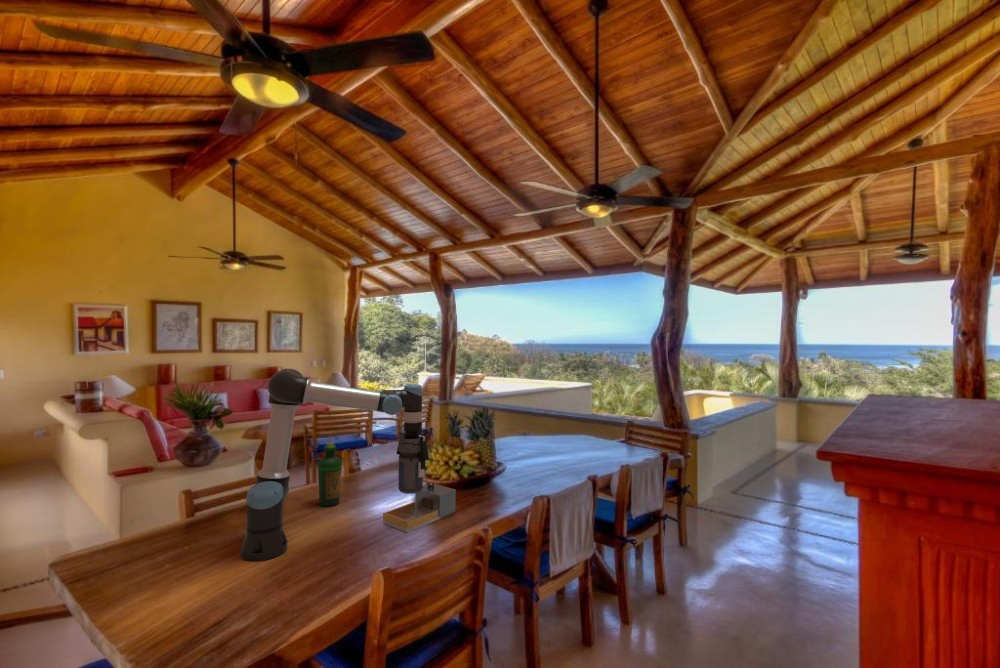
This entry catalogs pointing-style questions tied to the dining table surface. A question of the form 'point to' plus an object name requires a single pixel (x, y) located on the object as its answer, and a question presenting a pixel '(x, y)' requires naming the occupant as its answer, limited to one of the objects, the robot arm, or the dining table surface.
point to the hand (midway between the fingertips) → (412, 474)
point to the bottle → (329, 476)
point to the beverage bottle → (409, 465)
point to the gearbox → (423, 508)
